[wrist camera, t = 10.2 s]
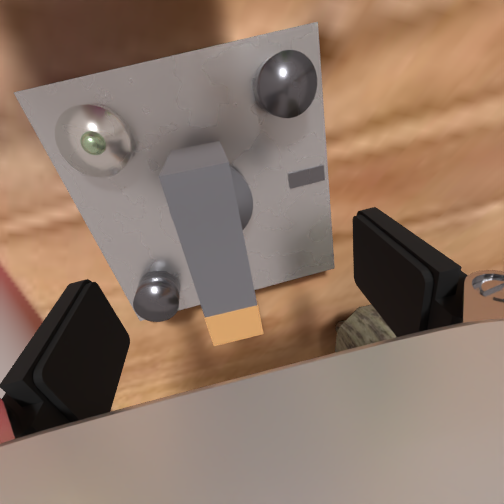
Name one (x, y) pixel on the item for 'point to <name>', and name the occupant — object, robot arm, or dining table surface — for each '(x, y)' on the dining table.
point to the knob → (214, 237)
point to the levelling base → (191, 134)
